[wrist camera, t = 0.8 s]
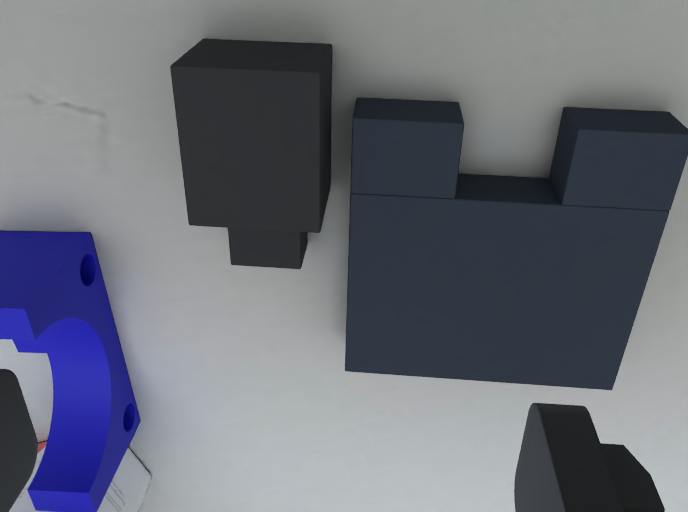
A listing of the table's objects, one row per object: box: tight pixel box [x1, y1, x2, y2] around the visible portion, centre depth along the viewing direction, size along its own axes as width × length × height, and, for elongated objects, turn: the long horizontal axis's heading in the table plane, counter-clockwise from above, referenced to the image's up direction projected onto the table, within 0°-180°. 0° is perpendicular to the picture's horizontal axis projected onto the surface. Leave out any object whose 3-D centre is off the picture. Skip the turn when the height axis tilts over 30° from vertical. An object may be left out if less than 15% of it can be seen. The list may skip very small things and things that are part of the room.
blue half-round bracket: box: [0, 231, 140, 512], centre depth 30 cm, size 12×4×6 cm, turn 2°
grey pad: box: [345, 98, 688, 390], centre depth 27 cm, size 12×12×2 cm
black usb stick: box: [171, 39, 332, 269], centre depth 25 cm, size 9×5×4 cm, turn 179°
